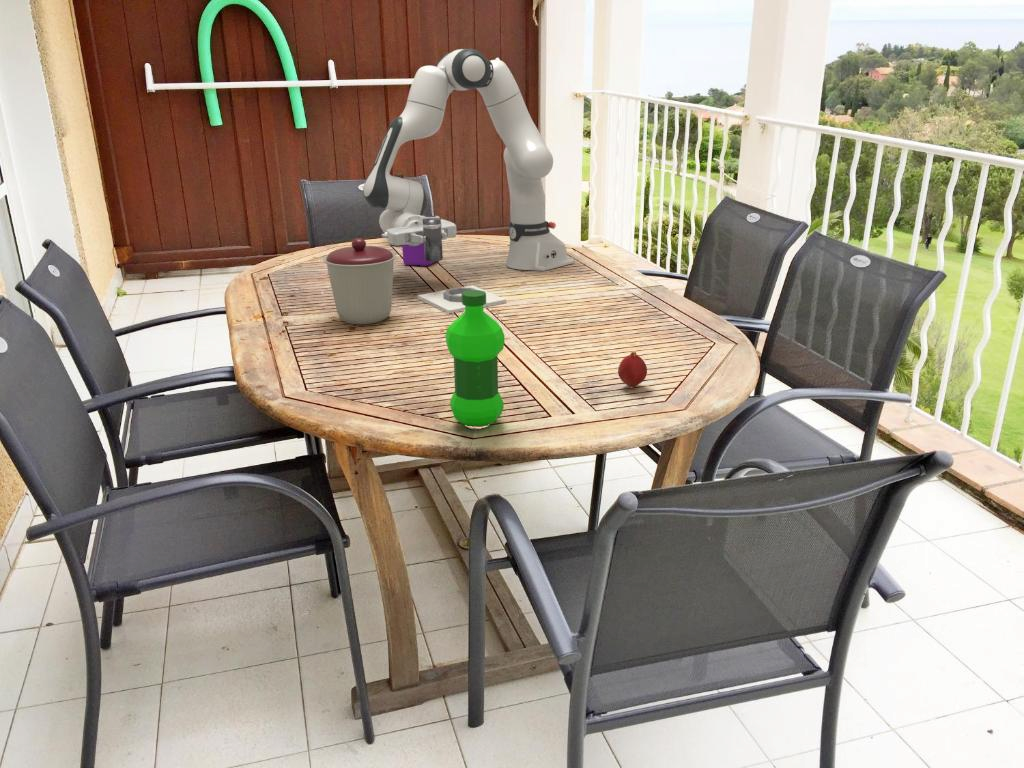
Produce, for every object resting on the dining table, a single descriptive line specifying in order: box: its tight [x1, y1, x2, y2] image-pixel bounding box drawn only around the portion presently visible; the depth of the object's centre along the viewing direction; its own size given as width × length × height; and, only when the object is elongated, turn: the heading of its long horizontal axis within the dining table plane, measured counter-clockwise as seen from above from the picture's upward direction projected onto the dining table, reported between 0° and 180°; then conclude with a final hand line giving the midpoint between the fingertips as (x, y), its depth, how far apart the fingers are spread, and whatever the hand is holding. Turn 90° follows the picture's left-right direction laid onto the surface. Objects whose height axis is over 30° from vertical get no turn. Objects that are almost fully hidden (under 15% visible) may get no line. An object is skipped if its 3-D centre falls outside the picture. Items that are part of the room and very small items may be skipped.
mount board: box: [417, 284, 507, 314], centre depth 225 cm, size 18×18×2 cm
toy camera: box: [402, 243, 436, 267], centre depth 266 cm, size 11×14×10 cm
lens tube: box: [422, 218, 443, 262], centre depth 224 cm, size 5×5×11 cm
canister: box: [323, 237, 397, 325], centre depth 207 cm, size 18×18×21 cm
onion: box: [617, 350, 648, 388], centre depth 164 cm, size 6×6×8 cm
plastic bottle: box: [445, 290, 506, 426], centre depth 146 cm, size 10×10×25 cm
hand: (434, 238), depth 223 cm, fingers closed on lens tube, 5 cm apart
